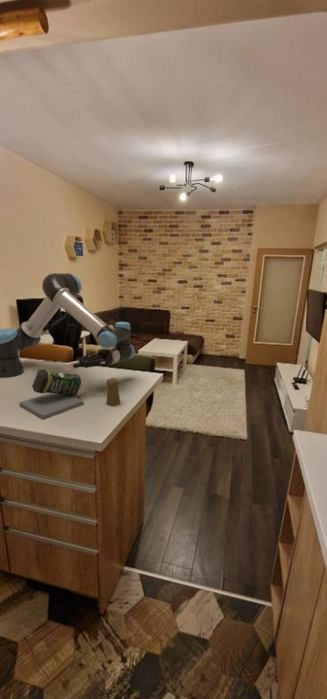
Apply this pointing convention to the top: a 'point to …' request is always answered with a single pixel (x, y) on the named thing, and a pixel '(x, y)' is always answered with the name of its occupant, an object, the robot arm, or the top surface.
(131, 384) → the top surface
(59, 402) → the mat
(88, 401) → the top surface
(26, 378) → the top surface
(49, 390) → the coffee jar
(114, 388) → the cork
